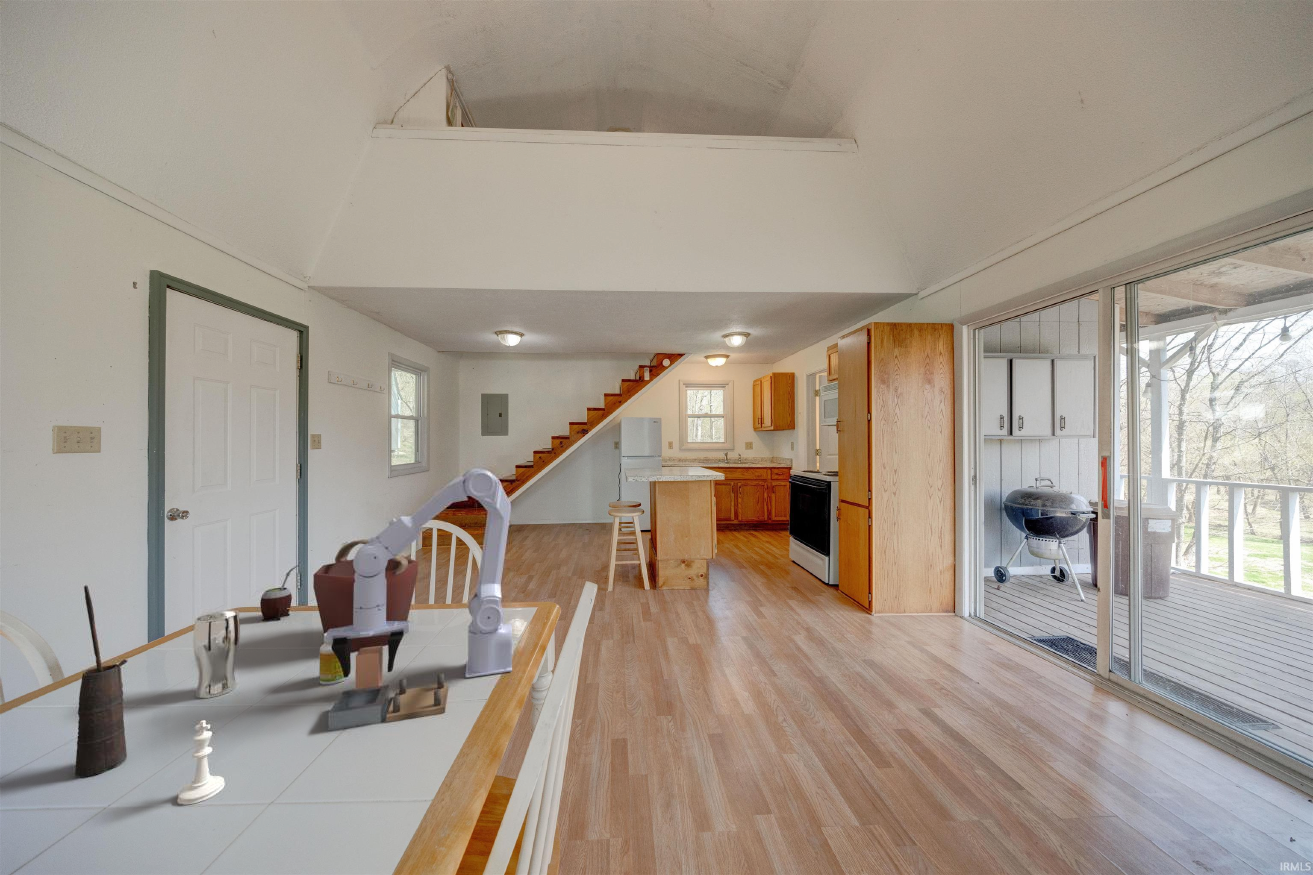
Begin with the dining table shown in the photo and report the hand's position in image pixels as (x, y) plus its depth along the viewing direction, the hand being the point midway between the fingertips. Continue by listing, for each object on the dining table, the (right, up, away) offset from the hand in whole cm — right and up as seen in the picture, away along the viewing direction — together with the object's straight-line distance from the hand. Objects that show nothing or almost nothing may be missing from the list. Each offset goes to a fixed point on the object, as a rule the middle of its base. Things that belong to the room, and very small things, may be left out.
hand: (369, 672), depth 99 cm
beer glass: (-31, -4, 0) cm, 31 cm away
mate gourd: (-50, -5, +42) cm, 66 cm away
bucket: (-16, -4, +26) cm, 31 cm away
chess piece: (-7, -3, -29) cm, 30 cm away
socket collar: (+4, -4, -9) cm, 10 cm away
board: (+13, -4, -5) cm, 14 cm away
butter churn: (-27, -3, -22) cm, 35 cm away
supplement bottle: (-10, -4, +5) cm, 12 cm away
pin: (0, -4, 0) cm, 4 cm away
